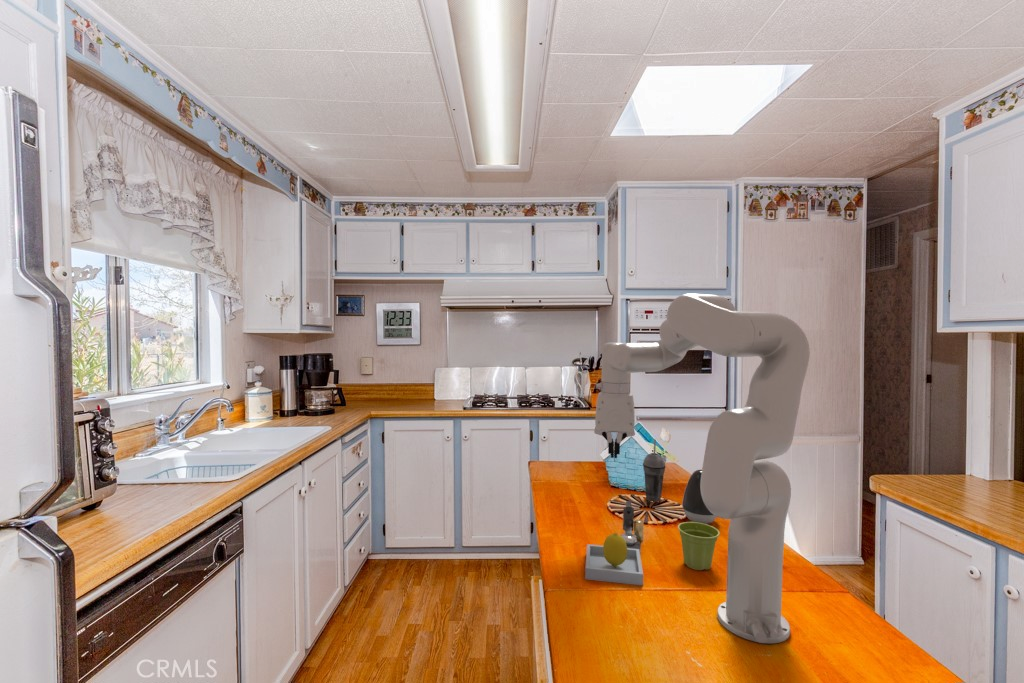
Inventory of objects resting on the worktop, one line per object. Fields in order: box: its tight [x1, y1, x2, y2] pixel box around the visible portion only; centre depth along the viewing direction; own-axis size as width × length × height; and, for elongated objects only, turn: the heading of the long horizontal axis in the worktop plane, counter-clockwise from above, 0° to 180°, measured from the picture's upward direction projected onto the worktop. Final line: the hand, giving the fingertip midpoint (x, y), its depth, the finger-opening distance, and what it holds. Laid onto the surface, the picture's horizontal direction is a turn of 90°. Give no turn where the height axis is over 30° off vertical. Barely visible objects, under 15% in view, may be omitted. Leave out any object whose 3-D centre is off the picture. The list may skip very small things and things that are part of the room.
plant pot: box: [677, 521, 721, 571], centre depth 119 cm, size 9×9×9 cm
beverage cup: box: [642, 439, 666, 503], centre depth 163 cm, size 7×7×20 cm
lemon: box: [602, 532, 627, 567], centre depth 116 cm, size 6×6×8 cm
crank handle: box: [620, 500, 637, 545], centre depth 129 cm, size 12×4×7 cm, turn 168°
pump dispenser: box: [682, 469, 718, 525], centre depth 146 cm, size 10×10×15 cm
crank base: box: [627, 518, 644, 554], centre depth 128 cm, size 12×7×5 cm, turn 170°
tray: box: [584, 543, 644, 586], centre depth 116 cm, size 13×13×2 cm
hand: (613, 456), depth 133 cm, fingers closed
